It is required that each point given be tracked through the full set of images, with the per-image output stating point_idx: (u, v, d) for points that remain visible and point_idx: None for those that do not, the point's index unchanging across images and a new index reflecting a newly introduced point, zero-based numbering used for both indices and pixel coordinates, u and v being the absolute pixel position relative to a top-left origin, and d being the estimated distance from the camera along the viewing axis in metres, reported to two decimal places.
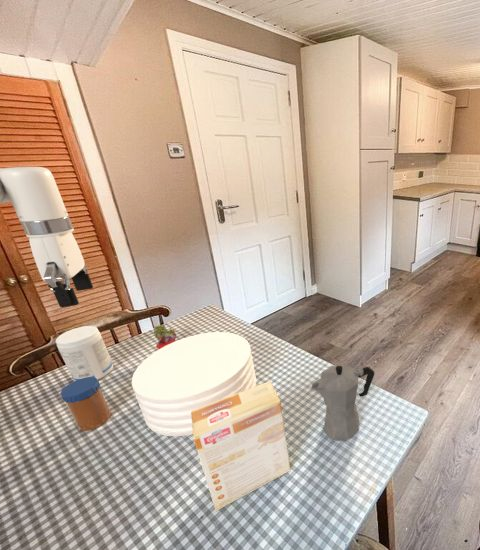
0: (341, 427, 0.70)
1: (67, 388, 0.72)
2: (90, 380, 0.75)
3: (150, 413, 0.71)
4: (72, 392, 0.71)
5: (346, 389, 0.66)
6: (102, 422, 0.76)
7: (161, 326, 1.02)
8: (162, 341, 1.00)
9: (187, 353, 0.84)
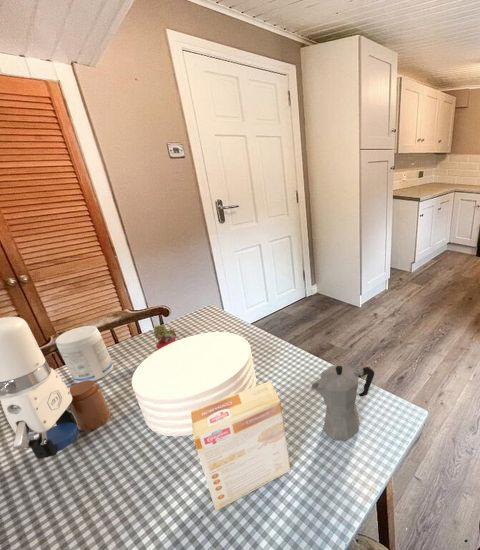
0: (341, 427, 0.70)
1: (68, 431, 0.67)
2: None
3: (150, 413, 0.71)
4: (63, 427, 0.68)
5: (346, 389, 0.66)
6: (102, 422, 0.76)
7: (161, 326, 1.02)
8: (162, 341, 1.00)
9: (187, 353, 0.84)
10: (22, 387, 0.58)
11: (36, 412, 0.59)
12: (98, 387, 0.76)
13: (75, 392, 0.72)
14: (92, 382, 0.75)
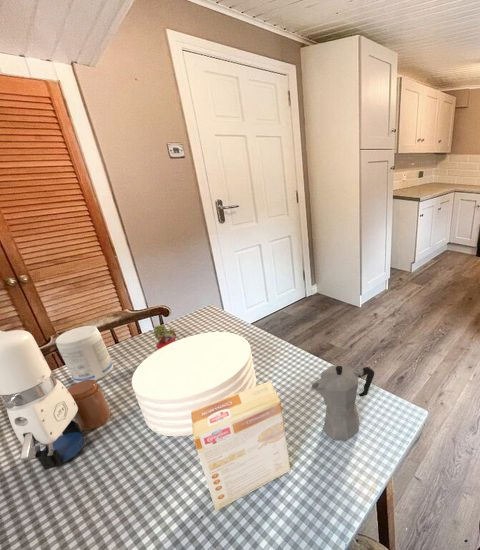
0: (341, 427, 0.70)
1: (74, 442, 0.68)
2: None
3: (150, 413, 0.71)
4: (69, 437, 0.69)
5: (346, 389, 0.66)
6: (102, 422, 0.76)
7: (161, 326, 1.02)
8: (162, 341, 1.00)
9: (187, 353, 0.84)
10: (29, 399, 0.59)
11: (42, 424, 0.60)
12: (99, 386, 0.76)
13: (76, 391, 0.72)
14: (93, 381, 0.75)
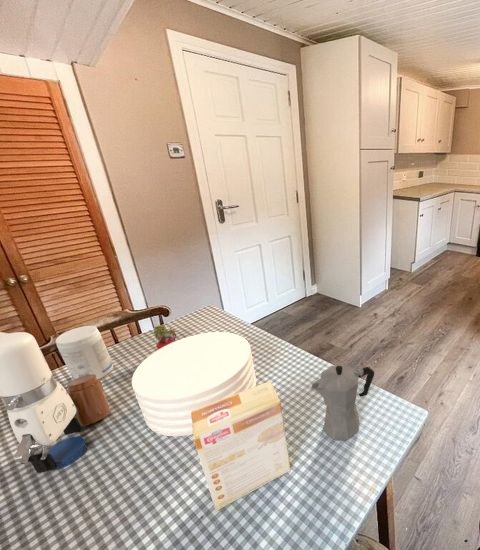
0: (341, 427, 0.70)
1: (77, 446, 0.68)
2: None
3: (150, 413, 0.71)
4: (72, 441, 0.69)
5: (346, 389, 0.66)
6: (100, 417, 0.76)
7: (161, 326, 1.02)
8: (162, 341, 1.00)
9: (187, 353, 0.84)
10: (29, 401, 0.59)
11: (42, 426, 0.61)
12: (99, 380, 0.77)
13: (76, 382, 0.74)
14: (93, 375, 0.77)
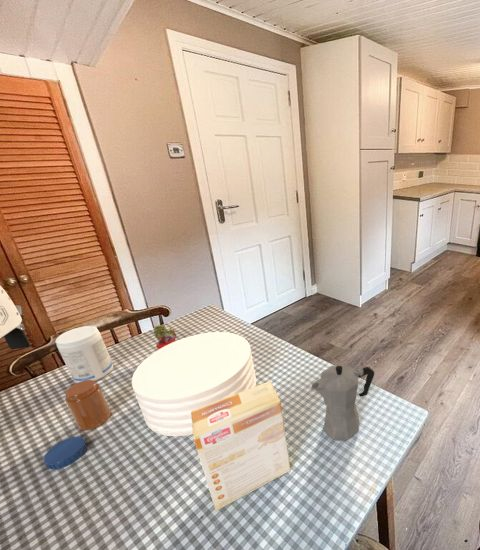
0: (341, 427, 0.70)
1: (77, 446, 0.68)
2: (51, 456, 0.66)
3: (150, 413, 0.71)
4: (72, 441, 0.69)
5: (346, 389, 0.66)
6: (102, 422, 0.76)
7: (161, 326, 1.02)
8: (162, 341, 1.00)
9: (187, 353, 0.84)
10: None
11: None
12: (98, 387, 0.76)
13: (75, 392, 0.72)
14: (92, 382, 0.75)
